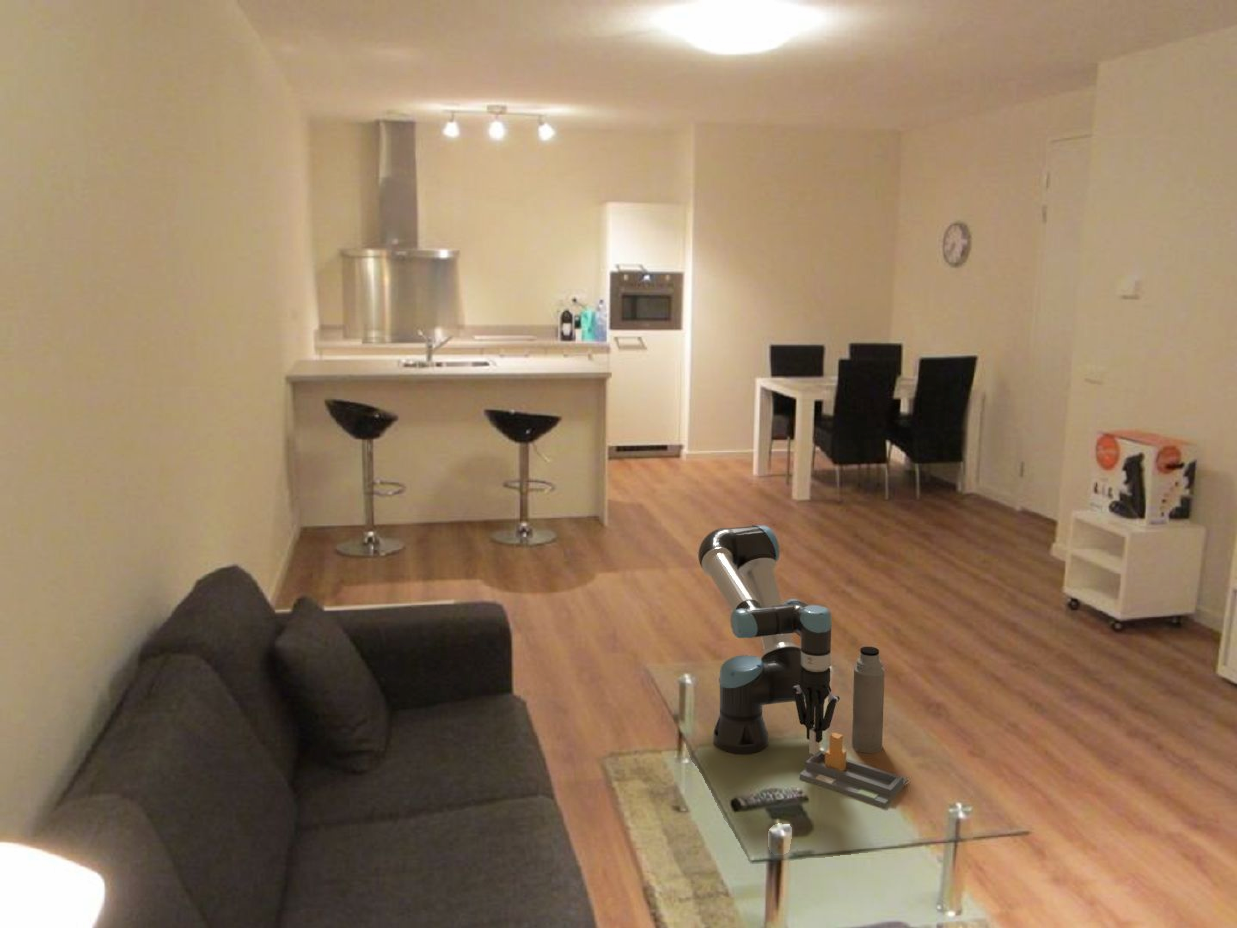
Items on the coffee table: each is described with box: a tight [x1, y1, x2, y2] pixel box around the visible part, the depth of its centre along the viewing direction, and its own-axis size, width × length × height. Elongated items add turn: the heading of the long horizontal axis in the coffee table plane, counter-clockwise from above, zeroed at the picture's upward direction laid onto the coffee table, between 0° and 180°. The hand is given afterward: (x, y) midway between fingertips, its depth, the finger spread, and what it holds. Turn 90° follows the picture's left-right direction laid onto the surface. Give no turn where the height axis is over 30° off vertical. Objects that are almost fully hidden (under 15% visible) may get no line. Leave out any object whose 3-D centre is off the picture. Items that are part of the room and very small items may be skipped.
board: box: [799, 749, 909, 808], centre depth 241 cm, size 23×14×3 cm, turn 51°
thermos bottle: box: [851, 646, 886, 754], centre depth 256 cm, size 8×8×28 cm
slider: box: [824, 732, 848, 771], centre depth 243 cm, size 4×4×9 cm
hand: (814, 751), depth 247 cm, fingers closed
